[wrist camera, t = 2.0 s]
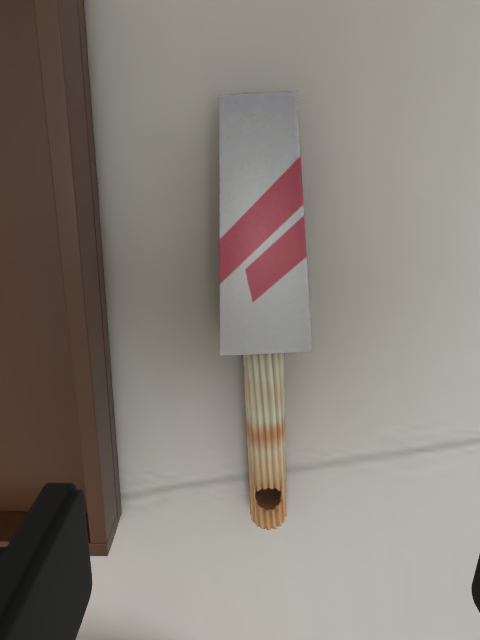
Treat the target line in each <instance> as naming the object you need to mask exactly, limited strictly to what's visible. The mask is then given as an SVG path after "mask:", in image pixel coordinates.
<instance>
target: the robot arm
mask: <svg viewBox="0 0 480 640" xmlns="http://www.w3.org/2000/svg"><path fill="white" fill-rule="evenodd" d="M91 590H92V573H91V563H90V553H89V543H88V533H87V523H86V513H85V503H84V494H83V491H82V490H76V486H75V484H74V483H47V484H45V486H44V487H43V489H42V490H41V492H40V493H39V495H38V497H37V498H36V500H35V502H34V503H33V505H32V506H31V508H30V510H29V511H28V513H27V515H26V516H25V518H24V519H23V521H22V523H21V524H20V526H19V528H18V529H17V531H16V532H15V534H14V536H13V537H12V539H11V541H10V542H9V544H8V545H7V547H0V640H76V637H77V634H78V631H79V628H80V625H81V622H82V619H83V616H84V614H85V611H86V608H87V605H88V602H89V599H90V595H91ZM472 596H473V600H474V602H475V605H476V607H477V608H478V610H479V612H480V555H479V559H478V563H477V567H476V571H475V575H474V579H473V583H472Z"/></svg>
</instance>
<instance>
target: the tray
mask: <svg viewBox="0 0 480 640" xmlns="http://www.w3.org/2000/svg"><path fill="white" fill-rule="evenodd" d="M47 483H74V484H75V486H76V490H82V491H83V494H84V503H85V513H86V523H87V533H88V543H89V553H90V556H108V554H109V551H110V548H111V545H112V542H113V539H114V536H115V533H116V530H117V526H118V523H119V520H120V517H121V501H120V488H119V474H118V461H117V447H116V434H115V420H114V407H113V393H112V380H111V366H110V352H109V339H108V325H107V312H106V298H105V285H104V271H103V258H102V244H101V231H100V217H99V204H98V190H97V177H96V163H95V150H94V136H93V123H92V109H91V96H90V82H89V69H88V55H87V42H86V28H85V15H84V1H83V0H0V547H7V545H8V544H9V542H10V541H11V539H12V537H13V536H14V534H15V532H16V531H17V529H18V528H19V526H20V524H21V523H22V521H23V519H24V518H25V516H26V515H27V513H28V511H29V510H30V508H31V506H32V505H33V503H34V502H35V500H36V498H37V497H38V495H39V493H40V492H41V490H42V489H43V487H44V486H45V484H47Z"/></svg>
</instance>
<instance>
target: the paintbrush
mask: <svg viewBox="0 0 480 640" xmlns="http://www.w3.org/2000/svg"><path fill="white" fill-rule="evenodd" d="M219 152H220V356H229V355H243V366H244V387H245V407H246V426H247V444H248V463H249V484H250V511H251V518H252V521H253V522H254V523H255V524H256V525H257V527H258V526H260V528H262V529H265V528H266V529H267V530H270V529H271V528H273V529H276V528H277V526H281V525H282V523H284V521H285V517H286V515H287V513H286V467H285V406H284V353H293V352H312V340H311V323H310V307H309V290H308V274H307V257H306V241H305V224H304V207H303V191H302V174H301V158H300V141H299V125H298V108H297V91H286V92H268V93H250V94H232V95H219Z"/></svg>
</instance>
